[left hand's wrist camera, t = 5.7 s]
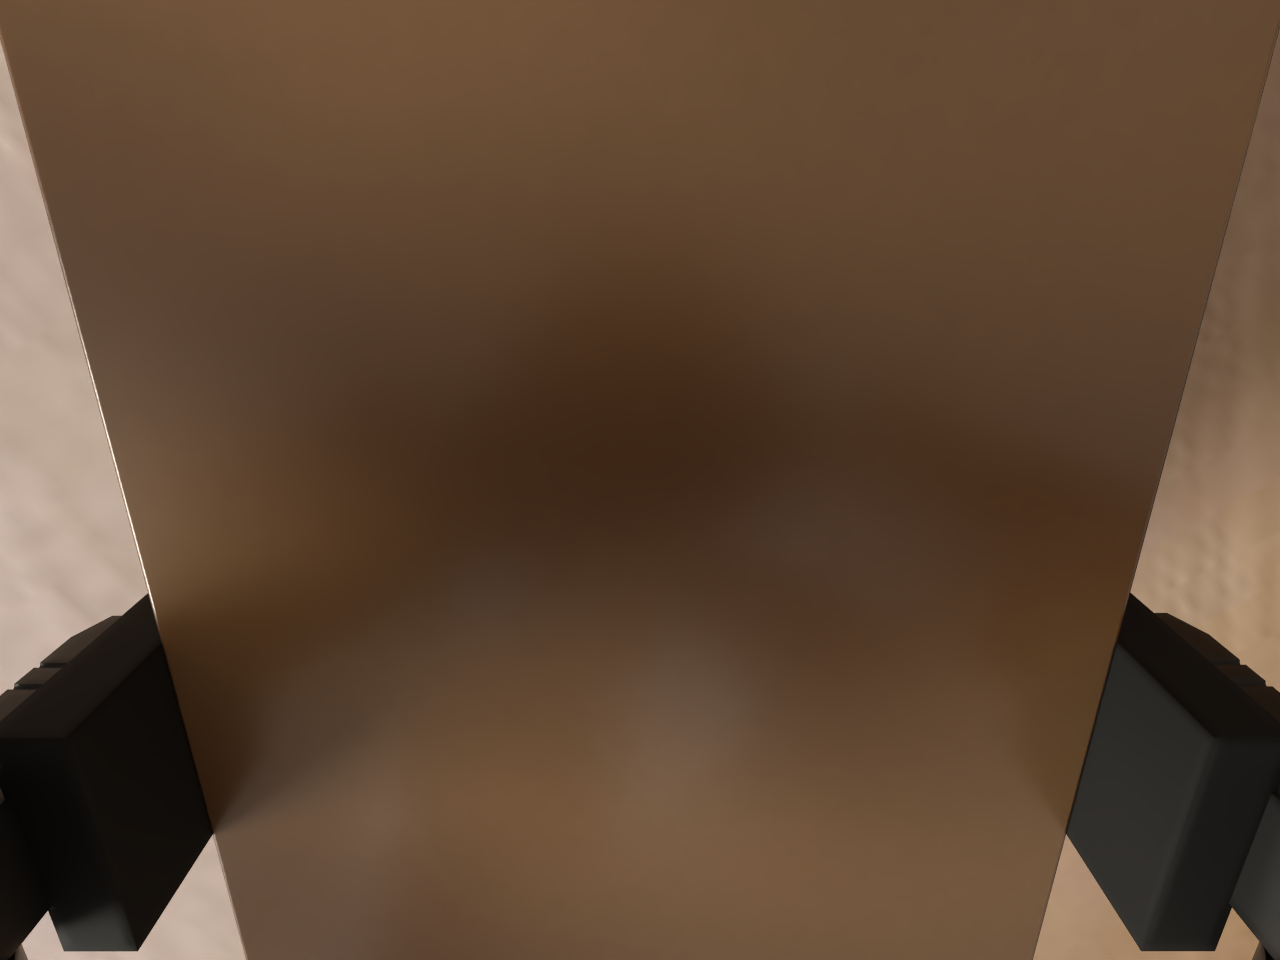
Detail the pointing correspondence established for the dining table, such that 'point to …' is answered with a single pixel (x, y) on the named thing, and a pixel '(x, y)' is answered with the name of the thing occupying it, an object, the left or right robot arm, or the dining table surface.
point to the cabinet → (638, 440)
